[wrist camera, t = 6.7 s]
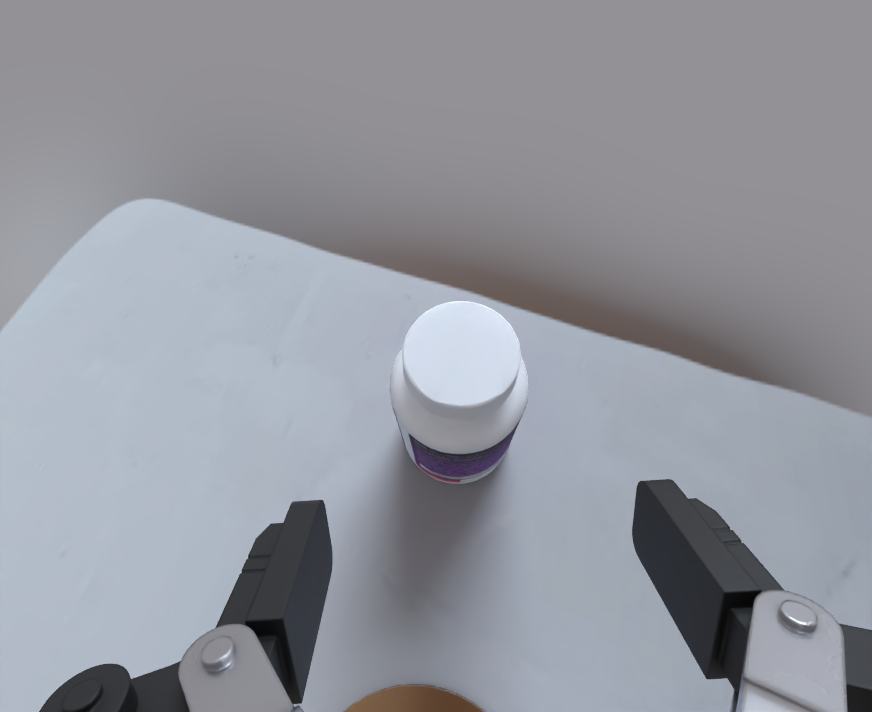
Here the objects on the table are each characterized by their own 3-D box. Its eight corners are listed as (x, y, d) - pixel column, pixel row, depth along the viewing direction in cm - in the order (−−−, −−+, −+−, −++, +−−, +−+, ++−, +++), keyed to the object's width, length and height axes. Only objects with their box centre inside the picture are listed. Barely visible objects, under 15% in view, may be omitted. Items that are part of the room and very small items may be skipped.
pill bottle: (531, 443, 25) (577, 368, 16) (444, 508, 24) (443, 465, 15) (466, 364, 27) (475, 257, 18) (383, 420, 25) (349, 335, 17)
